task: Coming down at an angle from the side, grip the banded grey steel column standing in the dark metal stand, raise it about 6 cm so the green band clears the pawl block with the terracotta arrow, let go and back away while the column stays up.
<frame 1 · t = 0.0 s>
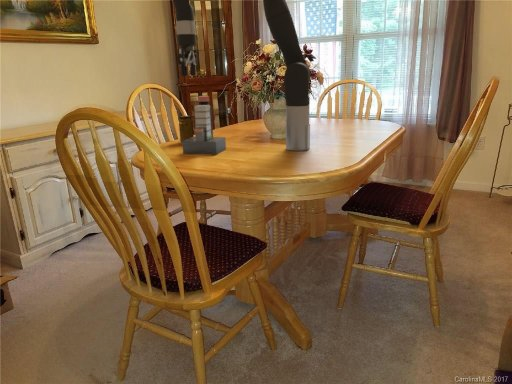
hand: (189, 75, 169), 29 cm above the table, tool pointing down, fingers open, 8 cm apart
condiment: (189, 143, 187), on the table
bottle: (205, 140, 192), on the table
column: (203, 122, 163), point 12 cm above the table, slide at 0.0 cm
stand base: (205, 151, 166), on the table
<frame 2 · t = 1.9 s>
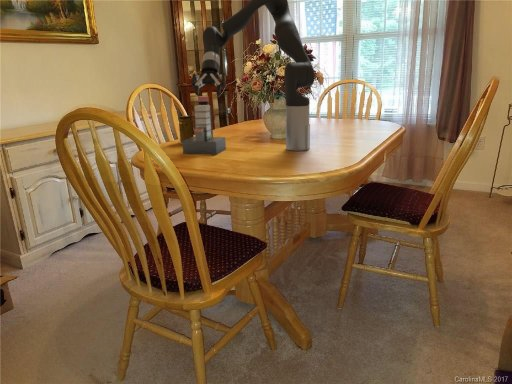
hand: (207, 94, 171), 22 cm above the table, tool tilted 45°, fingers open, 8 cm apart
nothing on the table moved.
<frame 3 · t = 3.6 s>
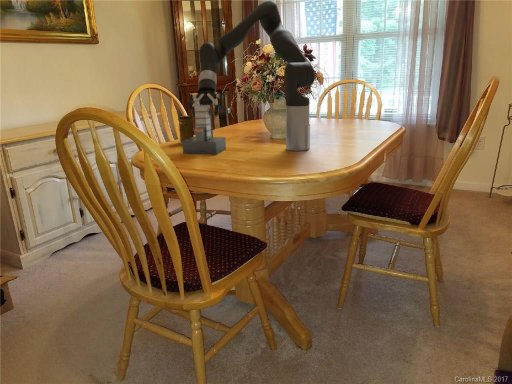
hand: (205, 115, 166), 14 cm above the table, tool tilted 45°, fingers open, 8 cm apart
nothing on the table moved.
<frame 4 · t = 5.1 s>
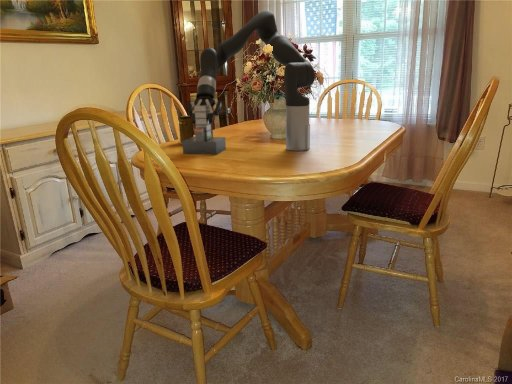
hand: (202, 122, 161), 12 cm above the table, tool tilted 45°, fingers closed on column, 5 cm apart
column: (203, 122, 163), point 12 cm above the table, slide at 0.0 cm, touching gripper
everything else where it was.
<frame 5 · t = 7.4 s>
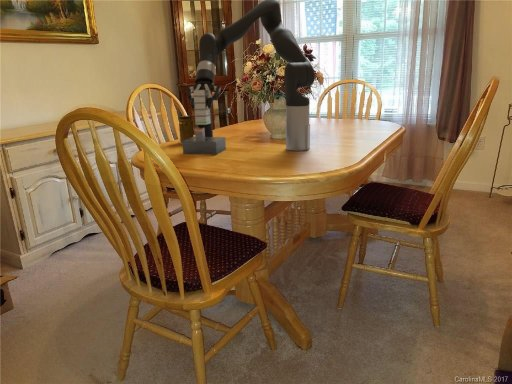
hand: (201, 107, 159), 18 cm above the table, tool tilted 45°, fingers closed on column, 5 cm apart
column: (202, 107, 161), point 18 cm above the table, slide at 5.9 cm, touching gripper
everything else where it was.
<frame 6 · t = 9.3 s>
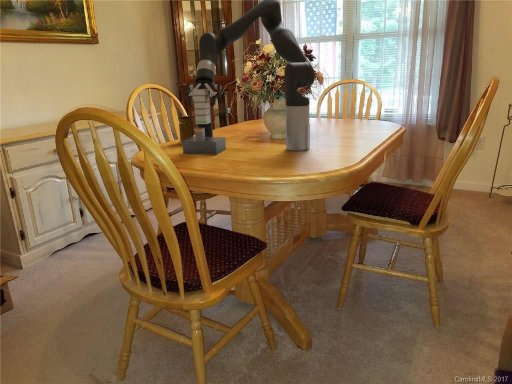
hand: (201, 105, 159), 18 cm above the table, tool tilted 45°, fingers open, 8 cm apart
column: (202, 106, 161), point 18 cm above the table, slide at 6.2 cm
everything else where it was.
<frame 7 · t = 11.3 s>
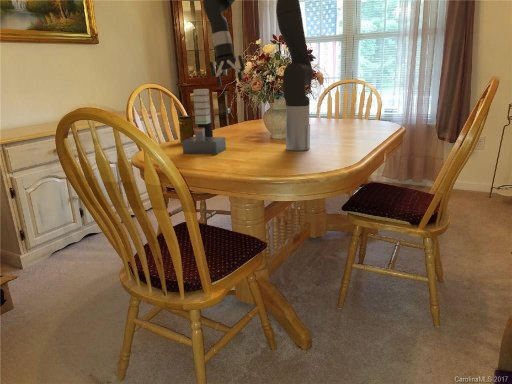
hand: (230, 84, 173), 25 cm above the table, tool pointing down, fingers open, 8 cm apart
nothing on the table moved.
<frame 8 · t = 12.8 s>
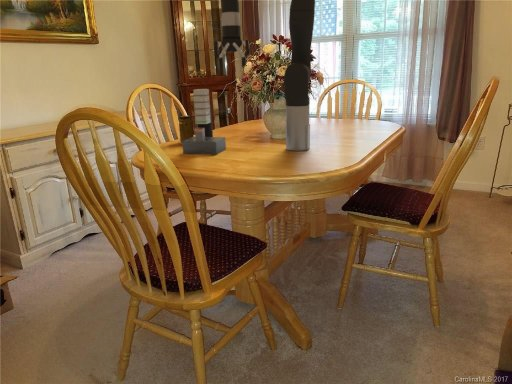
hand: (232, 67, 169), 32 cm above the table, tool pointing down, fingers open, 8 cm apart
nothing on the table moved.
at the end: column slide at 6.2 cm; the gripper is holding nothing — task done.
